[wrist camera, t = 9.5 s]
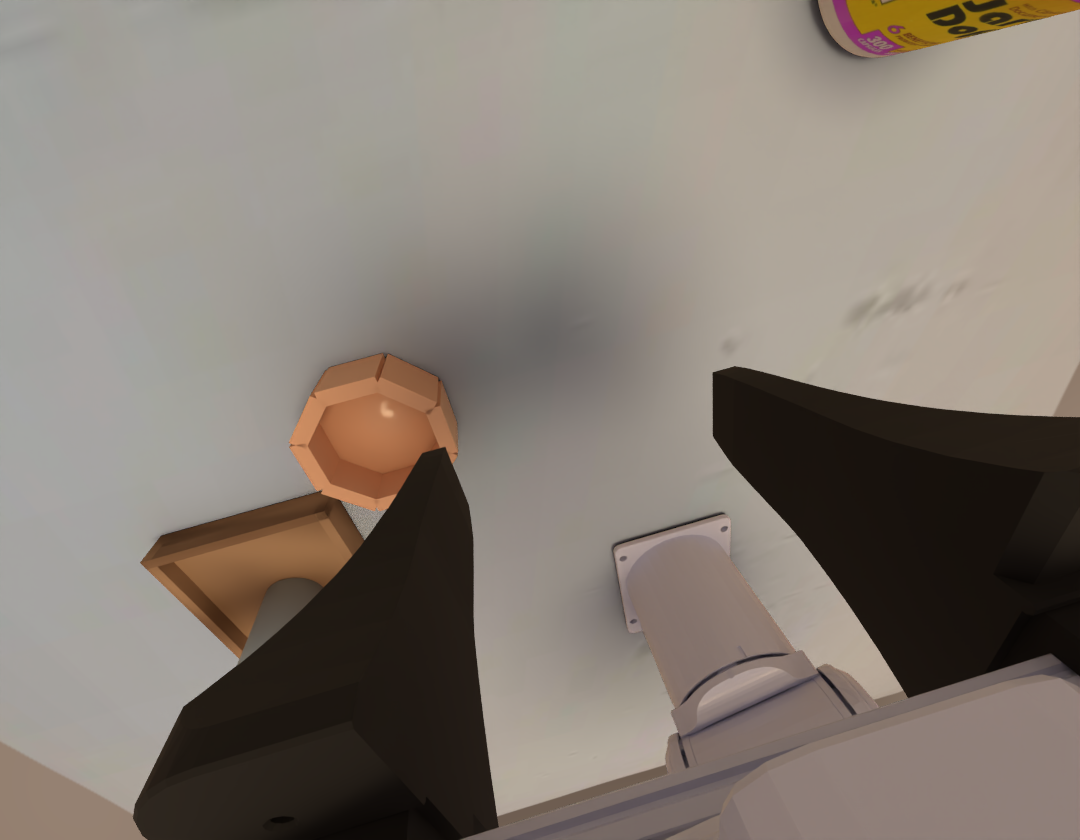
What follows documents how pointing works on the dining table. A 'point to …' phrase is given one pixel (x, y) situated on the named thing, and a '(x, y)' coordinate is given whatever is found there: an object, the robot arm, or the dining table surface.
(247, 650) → the dowel
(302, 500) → the tray
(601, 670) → the dining table surface
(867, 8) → the supplement bottle
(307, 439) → the orange octagonal bowl
